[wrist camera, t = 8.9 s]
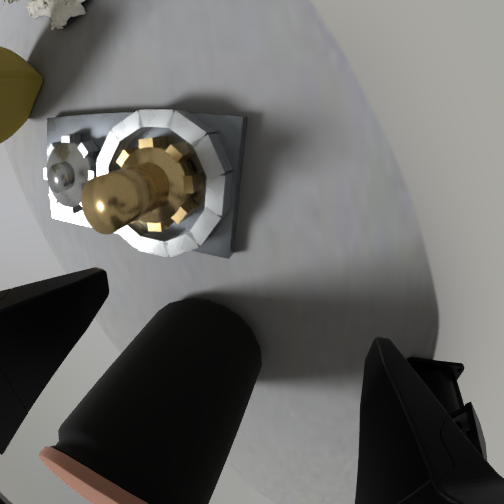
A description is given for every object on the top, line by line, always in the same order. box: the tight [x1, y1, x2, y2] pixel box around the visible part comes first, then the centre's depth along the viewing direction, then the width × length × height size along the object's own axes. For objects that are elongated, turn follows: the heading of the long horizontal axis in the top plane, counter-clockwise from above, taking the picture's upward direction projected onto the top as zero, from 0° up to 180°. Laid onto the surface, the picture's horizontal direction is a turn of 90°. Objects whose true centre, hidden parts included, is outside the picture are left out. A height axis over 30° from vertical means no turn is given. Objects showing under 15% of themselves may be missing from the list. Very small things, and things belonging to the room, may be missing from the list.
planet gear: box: [81, 136, 204, 234], centre depth 18 cm, size 6×6×7 cm
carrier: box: [47, 110, 247, 259], centre depth 21 cm, size 19×10×2 cm, turn 84°
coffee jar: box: [39, 299, 262, 504], centre depth 19 cm, size 11×11×18 cm
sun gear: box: [43, 133, 99, 214], centre depth 21 cm, size 7×7×3 cm
